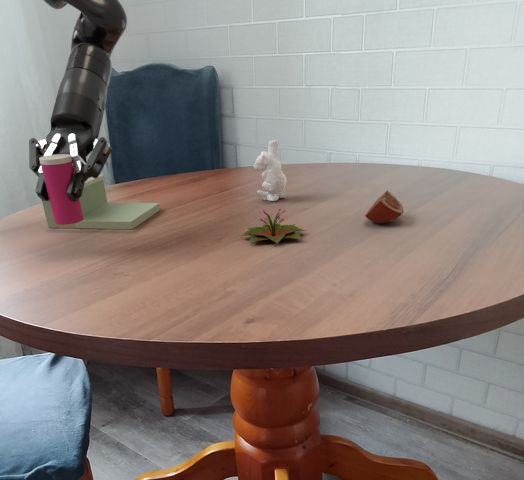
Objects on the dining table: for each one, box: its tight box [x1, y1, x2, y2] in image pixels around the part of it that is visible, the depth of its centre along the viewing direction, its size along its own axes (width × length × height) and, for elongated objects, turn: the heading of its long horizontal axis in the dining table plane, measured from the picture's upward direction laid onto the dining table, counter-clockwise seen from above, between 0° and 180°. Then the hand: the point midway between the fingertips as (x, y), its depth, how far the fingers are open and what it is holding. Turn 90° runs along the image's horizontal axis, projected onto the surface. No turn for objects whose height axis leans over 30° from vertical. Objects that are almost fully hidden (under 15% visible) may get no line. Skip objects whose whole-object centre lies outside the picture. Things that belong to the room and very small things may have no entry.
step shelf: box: [41, 174, 161, 230], centre depth 109 cm, size 15×18×7 cm
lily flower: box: [241, 208, 307, 245], centre depth 93 cm, size 12×12×5 cm
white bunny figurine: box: [253, 139, 288, 202], centre depth 115 cm, size 8×7×12 cm
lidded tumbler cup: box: [39, 154, 84, 225], centre depth 85 cm, size 5×5×10 cm
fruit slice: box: [364, 189, 404, 224], centre depth 97 cm, size 8×7×5 cm
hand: (57, 198), depth 84 cm, fingers closed on lidded tumbler cup, 4 cm apart
